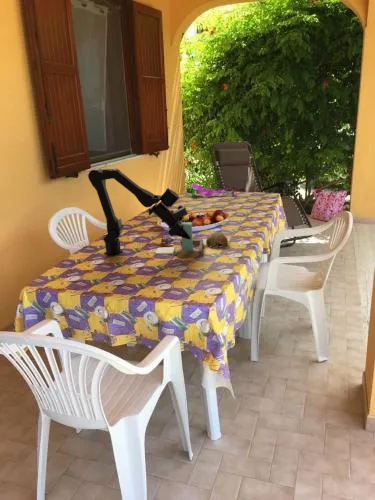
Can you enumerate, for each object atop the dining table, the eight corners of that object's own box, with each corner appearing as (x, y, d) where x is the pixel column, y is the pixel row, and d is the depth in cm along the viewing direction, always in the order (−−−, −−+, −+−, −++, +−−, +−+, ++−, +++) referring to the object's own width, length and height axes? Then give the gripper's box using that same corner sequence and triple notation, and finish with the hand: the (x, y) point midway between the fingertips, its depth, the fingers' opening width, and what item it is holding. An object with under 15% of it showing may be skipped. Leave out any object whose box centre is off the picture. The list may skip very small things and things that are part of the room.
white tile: (155, 254, 196) (155, 253, 196) (157, 248, 204) (157, 247, 204) (173, 253, 195) (173, 252, 195) (174, 248, 203) (174, 247, 203)
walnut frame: (177, 257, 191) (177, 251, 190) (180, 245, 207) (180, 240, 207) (201, 256, 190) (201, 251, 189) (203, 244, 206) (202, 239, 206)
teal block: (182, 252, 197) (181, 225, 193) (183, 249, 201) (181, 222, 197) (192, 252, 196) (191, 224, 192) (193, 249, 201) (191, 222, 197)
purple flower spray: (187, 201, 324) (233, 203, 319) (184, 194, 308) (233, 196, 303) (188, 185, 326) (235, 188, 322) (186, 177, 310) (234, 180, 305)
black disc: (179, 256, 192) (179, 255, 191) (170, 255, 194) (170, 254, 194) (186, 253, 195) (186, 252, 195) (177, 251, 198) (177, 251, 198)
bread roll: (209, 255, 202) (210, 242, 197) (202, 241, 210) (204, 228, 204) (228, 252, 205) (231, 239, 199) (221, 238, 212) (224, 226, 206)
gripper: (174, 206, 183) (201, 230, 185) (178, 197, 201) (202, 219, 203) (157, 224, 186) (184, 248, 189) (162, 214, 204) (187, 235, 206)
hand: (190, 237), depth 197 cm, fingers open, 5 cm apart
